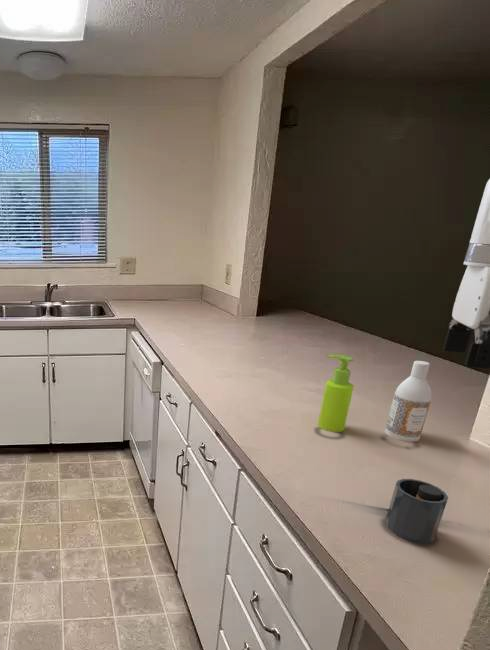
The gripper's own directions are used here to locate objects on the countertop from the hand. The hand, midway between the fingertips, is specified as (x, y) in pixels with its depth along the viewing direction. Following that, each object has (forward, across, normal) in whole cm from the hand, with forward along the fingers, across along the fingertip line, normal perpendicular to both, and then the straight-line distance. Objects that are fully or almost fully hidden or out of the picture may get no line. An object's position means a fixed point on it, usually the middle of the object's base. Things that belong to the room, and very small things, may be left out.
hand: (464, 358), depth 75 cm
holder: (+28, -12, +5) cm, 31 cm away
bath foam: (+28, +26, -2) cm, 38 cm away
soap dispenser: (+28, +25, +14) cm, 40 cm away
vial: (+24, -12, +3) cm, 27 cm away
